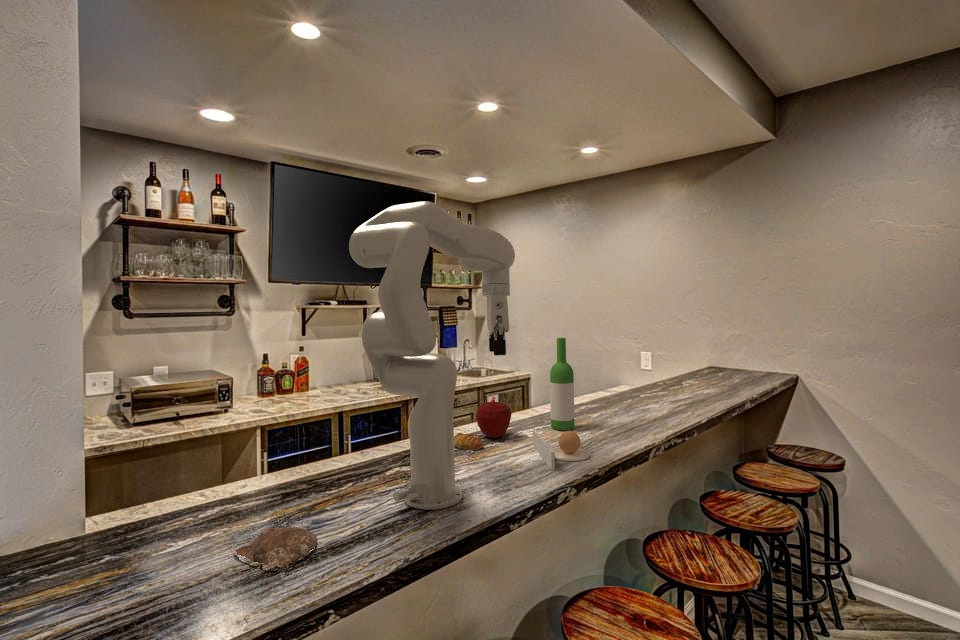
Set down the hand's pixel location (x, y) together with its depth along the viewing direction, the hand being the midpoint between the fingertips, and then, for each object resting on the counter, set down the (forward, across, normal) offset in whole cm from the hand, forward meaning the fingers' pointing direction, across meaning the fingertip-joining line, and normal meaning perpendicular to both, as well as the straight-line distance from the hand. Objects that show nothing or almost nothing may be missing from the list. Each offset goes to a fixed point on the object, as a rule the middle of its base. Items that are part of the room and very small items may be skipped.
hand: (497, 353), depth 136 cm
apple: (+28, +18, -1) cm, 34 cm away
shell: (+29, -46, +45) cm, 71 cm away
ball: (+25, -3, -19) cm, 31 cm away
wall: (+28, -3, -12) cm, 31 cm away
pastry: (+29, +10, +8) cm, 32 cm away
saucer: (+28, -3, -19) cm, 34 cm away
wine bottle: (+28, +25, -25) cm, 45 cm away
